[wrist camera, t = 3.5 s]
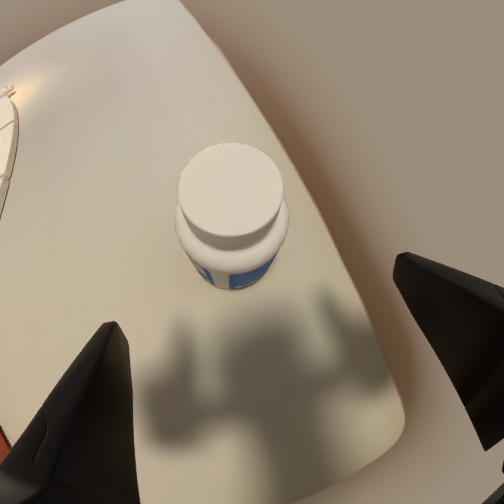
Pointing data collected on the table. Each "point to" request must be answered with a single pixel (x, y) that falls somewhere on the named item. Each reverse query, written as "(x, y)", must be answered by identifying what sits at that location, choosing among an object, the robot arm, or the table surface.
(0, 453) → the bowl
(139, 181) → the table surface
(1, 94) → the round slatted board
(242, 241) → the pill bottle
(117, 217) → the table surface
